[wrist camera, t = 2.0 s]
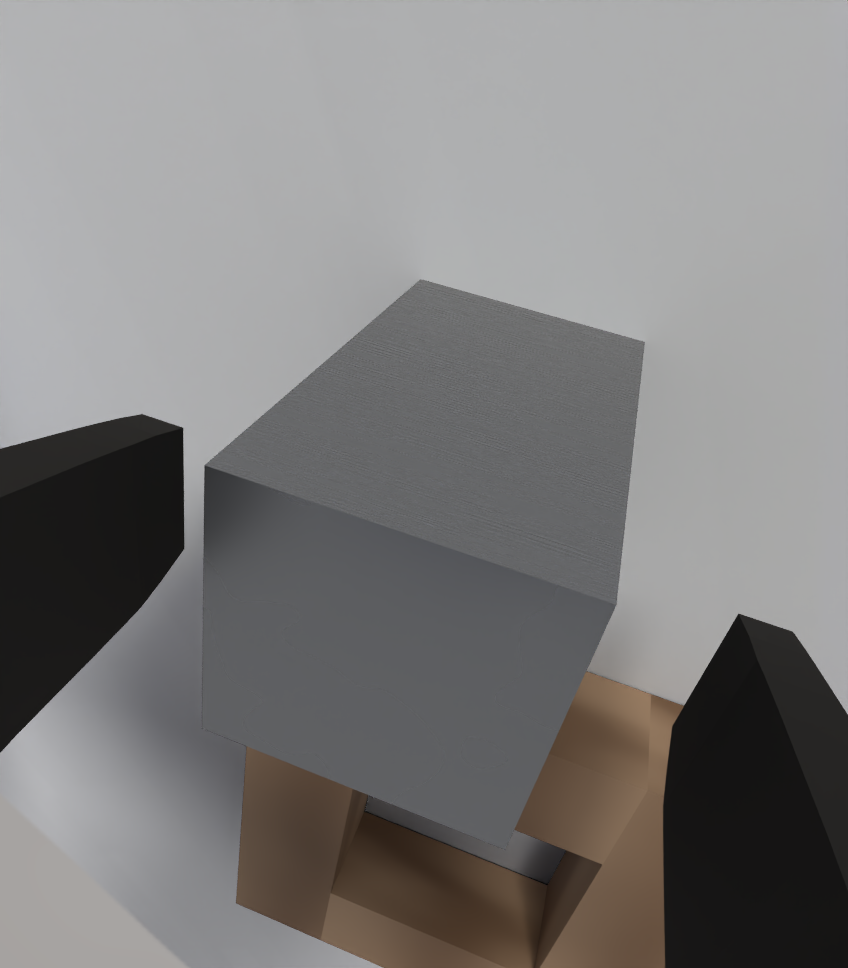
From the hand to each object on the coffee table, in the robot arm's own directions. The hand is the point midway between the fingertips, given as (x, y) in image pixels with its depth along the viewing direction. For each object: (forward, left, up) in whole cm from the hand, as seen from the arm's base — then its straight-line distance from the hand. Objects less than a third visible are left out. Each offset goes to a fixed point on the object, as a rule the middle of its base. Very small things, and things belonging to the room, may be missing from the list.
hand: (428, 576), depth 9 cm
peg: (0, 0, -5) cm, 5 cm away
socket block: (+2, -11, -5) cm, 12 cm away
